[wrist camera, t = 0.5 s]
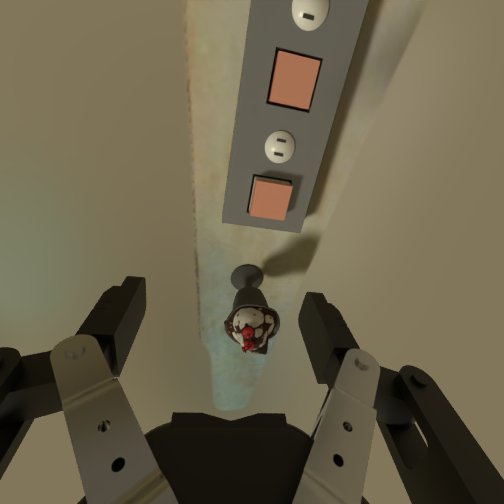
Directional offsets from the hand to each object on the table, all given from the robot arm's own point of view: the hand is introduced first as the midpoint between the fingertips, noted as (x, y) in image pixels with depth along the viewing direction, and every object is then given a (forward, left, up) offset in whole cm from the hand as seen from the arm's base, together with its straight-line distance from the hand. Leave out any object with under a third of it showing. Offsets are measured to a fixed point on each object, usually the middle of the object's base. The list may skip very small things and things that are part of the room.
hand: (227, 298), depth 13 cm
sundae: (+14, +5, -23) cm, 27 cm away
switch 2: (-12, +5, -21) cm, 25 cm away
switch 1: (0, +5, -20) cm, 20 cm away
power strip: (-8, +5, -23) cm, 25 cm away
